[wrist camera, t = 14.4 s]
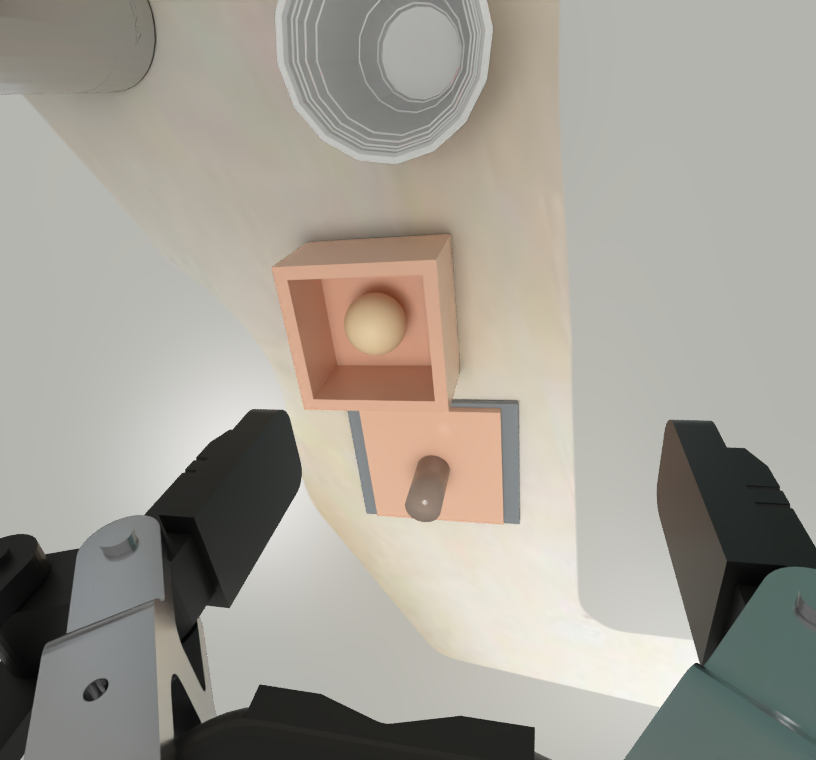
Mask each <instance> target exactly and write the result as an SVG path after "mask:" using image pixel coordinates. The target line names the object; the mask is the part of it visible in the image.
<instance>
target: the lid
mask: <svg viewBox="0 0 816 760" xmlns="http://www.w3.org/2000/svg"><path fill="white" fill-rule="evenodd" d="M359 413H360V419H361V424H362V430H363V436H364V441H365V447H366V453H367V459H368V464H369V470H370V476H371V481H372V487H373V493H374V498H375V504H376V510H377V516H390V517H404V518H414V519H416V520H418V521H422V522H430V521H434V520H447V521H461V522H476V523H490V524H504V499H503V464H502V429H501V408H469V407H450V410H449V413H432V412H388V411H359Z"/></svg>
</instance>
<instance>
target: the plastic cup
mask: <svg viewBox="0 0 816 760" xmlns="http://www.w3.org/2000/svg"><path fill="white" fill-rule="evenodd" d="M275 27H276V46H277V64H278V66H279V69H280V72H281V74H282V77H283V79H284V82H285V84H286V87H287V90H288V92H289V95H290V97H291V100H292V103H293V105H294V108H295V109H296V110H297V111H298V113H299V114H300V115H301V116H302V117H303V118H304V120H305V121H306V122H307V123H308V124H309V126H310V127H311V128H312V129H313V130H314V131H315V133H316V134H317V135H318V136H319V137H320V139H321V140H322V141H323V142H325V143H327V144H329V145H330V146H332V147H334V148H336V149H338V150H340V151H341V152H343V153H345V154H347V155H349V156H351V157H352V158H354V159H356V160H358V161H367V162H378V163H388V164H399V163H402V162H405V161H408V160H410V159H413V158H416V157H419V156H422V155H425V154H428V153H431V152H434V151H435V150H436V149H437V148H438V147H439V146H440V145H442V144H443V143H444V142H445V141H446V140H447V139H448V138H449V137H450V136H451V135H453V134H454V133H455V132H456V131H457V130H458V129H459V128H460V127H461V126H462V125H464V124H465V123H466V121H467V119H468V117H469V115H470V113H471V111H472V109H473V107H474V105H475V103H476V101H477V99H478V97H479V95H480V93H481V91H482V89H483V87H484V85H485V83H486V81H487V75H488V67H489V59H490V51H491V42H492V34H493V26H492V21H491V17H490V12H489V8H488V3H487V0H279V1H278V4H277V7H276V11H275Z"/></svg>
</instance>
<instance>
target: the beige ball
mask: <svg viewBox="0 0 816 760" xmlns="http://www.w3.org/2000/svg"><path fill="white" fill-rule="evenodd" d="M406 328H407V320H406V315H405V312H404V310H403V308H402V307H401V305H400V304H399V303H398V302H397V301H396V300H395V299H394V298H392V297H390V296H388V295H386V294H383V293H368V294H365V295H362V296H360V297H358V298H357V299H356V300H355V301H353V303H352V304H351V305H350V306H349V308H348V310H347V312H346V315H345V319H344V329H345V333H346V336H347V338H348V340H349V341H350V343H351V344H352V345H353V346H354V347H355V348H356V349H357V350H359V351H360V352H362V353H365V354H368V355H383V354H386V353H389V352H391V351H392V350H394V349H395V348H396V347H397V346H399V344H400V343H401V342H402V340H403V338H404V336H405V333H406Z"/></svg>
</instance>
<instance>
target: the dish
mask: <svg viewBox="0 0 816 760" xmlns="http://www.w3.org/2000/svg"><path fill="white" fill-rule="evenodd" d="M272 272H273V276H274V280H275V285H276V289H277V293H278V298H279V302H280V306H281V311H282V315H283V319H284V324H285V328H286V332H287V337H288V341H289V345H290V350H291V354H292V358H293V363H294V367H295V371H296V376H297V380H298V384H299V388H300V393H301V397H302V401H303V406H304V410H344V411H388V412H432V413H449V410H450V407H451V403H452V399H453V396H454V392H455V388H456V384H457V381H458V377H459V373H460V359H459V345H458V330H457V315H456V300H455V285H454V271H453V256H452V241H451V234H437V235H419V236H402V237H384V238H366V239H349V240H331V241H314V242H307V243H305V244H304V245H302V246H301V247H299V248H298V249H297V250H295V251H294V252H292V253H291V254H290V255H288V256H287V257H285V258H284V259H282V260H281V261H280V262H278V263H277V264H275V265H274V266H272ZM368 293H383V294H386V295H388V296H390V297H392V298H394V299H395V300H396V301H397V302H398V303H399V304H400V305H401V307H402V308H403V310H404V312H405V315H406V320H407V328H406V333H405V336H404V338H403V340H402V342H401V343H400V344H399V346H397V347H396V348H395V349H394V350H392V351H391V352H389V353H386V354H383V355H368V354H365V353H362V352H360V351H359V350H357V349H356V348H355V347H354V346H353V345H352V344H351V343H350V341H349V340H348V338H347V336H346V333H345V329H344V319H345V315H346V312H347V310H348V308H349V306H350V305H351V304H352V303H353V301H355V300H356V299H357V298H358V297H360V296H362V295H365V294H368Z"/></svg>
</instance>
